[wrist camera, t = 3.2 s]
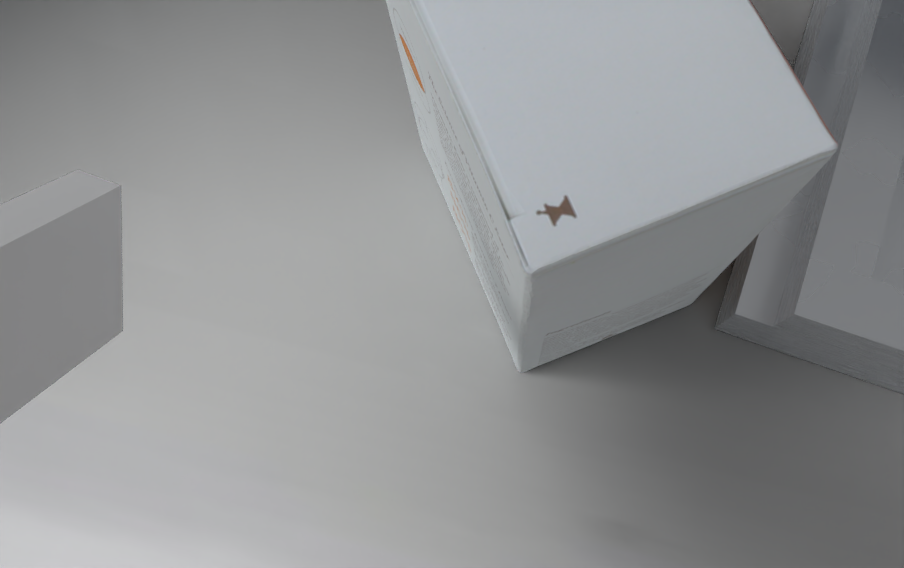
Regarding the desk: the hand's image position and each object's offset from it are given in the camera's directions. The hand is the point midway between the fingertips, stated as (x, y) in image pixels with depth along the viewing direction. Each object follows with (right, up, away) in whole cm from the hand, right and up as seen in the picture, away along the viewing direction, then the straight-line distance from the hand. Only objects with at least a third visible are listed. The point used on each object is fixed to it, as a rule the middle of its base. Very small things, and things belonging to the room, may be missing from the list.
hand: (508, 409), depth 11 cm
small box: (+2, +4, +12) cm, 13 cm away
